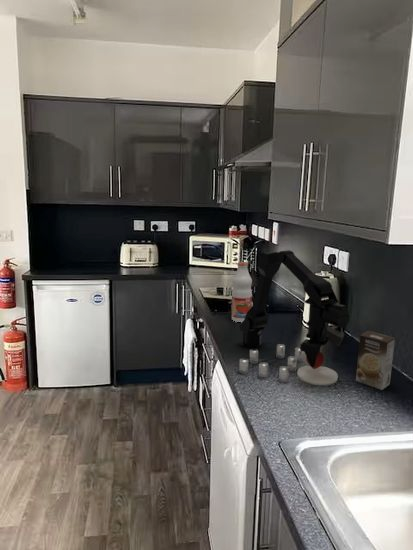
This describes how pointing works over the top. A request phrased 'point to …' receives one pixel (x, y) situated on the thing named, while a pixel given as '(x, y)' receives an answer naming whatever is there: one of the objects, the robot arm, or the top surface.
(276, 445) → the top surface
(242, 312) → the fruit juice
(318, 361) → the onion
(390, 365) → the coffee box
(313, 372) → the plate
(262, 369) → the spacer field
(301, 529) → the top surface
